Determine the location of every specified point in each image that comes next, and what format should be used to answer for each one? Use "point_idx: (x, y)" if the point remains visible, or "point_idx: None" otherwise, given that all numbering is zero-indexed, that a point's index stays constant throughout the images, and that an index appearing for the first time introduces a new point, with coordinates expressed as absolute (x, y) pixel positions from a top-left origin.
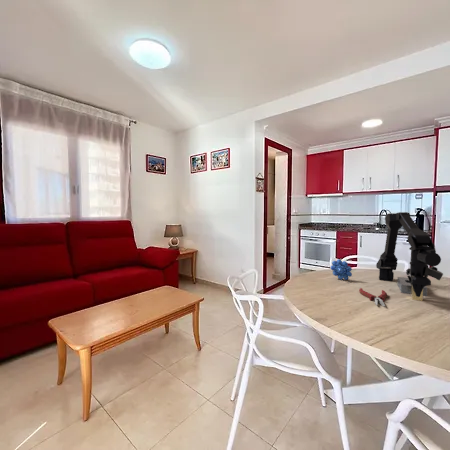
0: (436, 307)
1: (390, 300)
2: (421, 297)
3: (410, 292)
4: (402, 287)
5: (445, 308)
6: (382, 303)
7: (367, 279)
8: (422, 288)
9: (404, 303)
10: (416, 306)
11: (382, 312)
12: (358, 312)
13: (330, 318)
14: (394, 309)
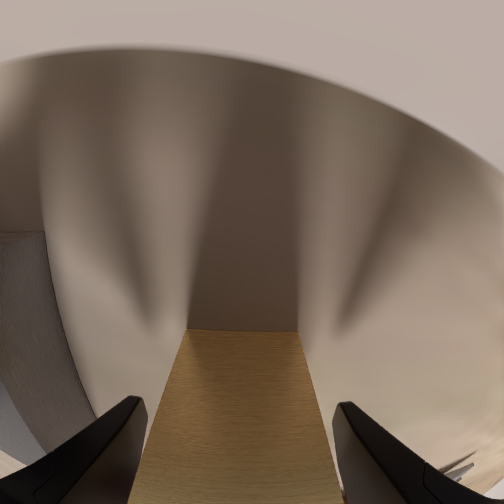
0: (466, 229)
1: None
2: (304, 369)
3: (73, 387)
4: None
5: (462, 145)
6: (453, 479)
7: (10, 461)
8: (457, 489)
9: (413, 434)
10: (462, 375)
11: (499, 445)
12: (486, 473)
13: (499, 477)
14: (485, 435)
